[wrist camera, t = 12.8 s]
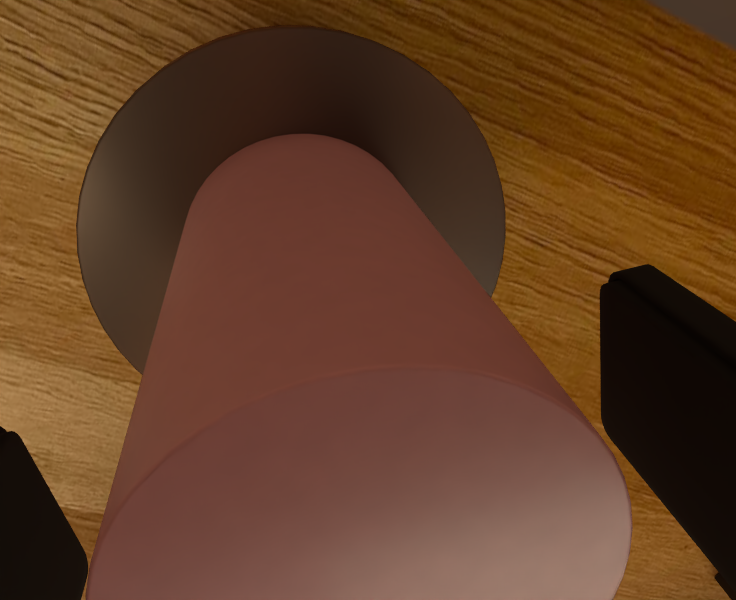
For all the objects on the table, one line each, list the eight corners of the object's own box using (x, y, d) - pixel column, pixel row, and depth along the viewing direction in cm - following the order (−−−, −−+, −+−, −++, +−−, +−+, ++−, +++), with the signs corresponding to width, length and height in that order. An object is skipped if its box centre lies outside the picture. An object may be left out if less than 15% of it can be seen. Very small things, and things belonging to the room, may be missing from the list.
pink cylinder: (173, 340, 17) (77, 779, 7) (195, 111, 14) (95, 331, 5) (388, 361, 18) (536, 751, 9) (441, 157, 16) (721, 394, 6)
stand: (126, 280, 25) (69, 415, 17) (147, -21, 21) (83, -29, 13) (389, 313, 28) (445, 442, 20) (456, 52, 23) (563, 83, 15)
